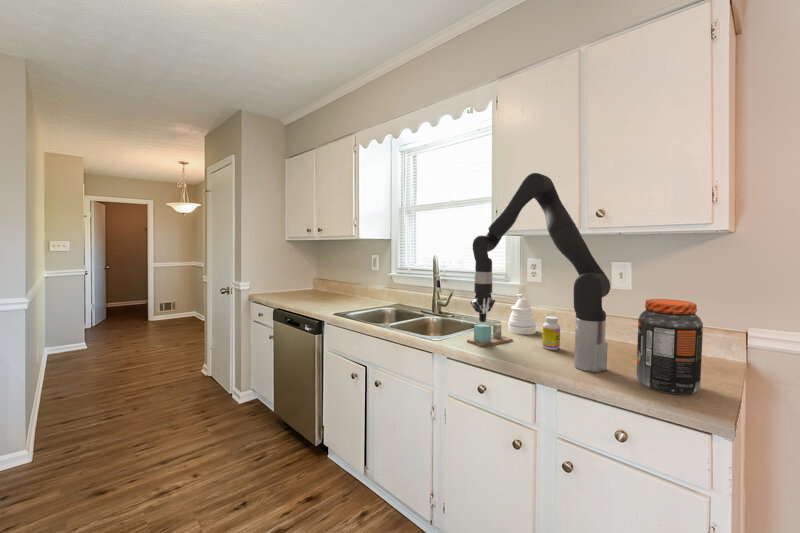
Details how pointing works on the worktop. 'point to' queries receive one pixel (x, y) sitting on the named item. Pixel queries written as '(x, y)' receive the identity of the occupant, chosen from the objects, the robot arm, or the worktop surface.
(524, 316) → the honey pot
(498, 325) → the stand
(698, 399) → the worktop surface
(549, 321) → the supplement bottle
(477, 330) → the teal block
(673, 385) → the supplement tub
